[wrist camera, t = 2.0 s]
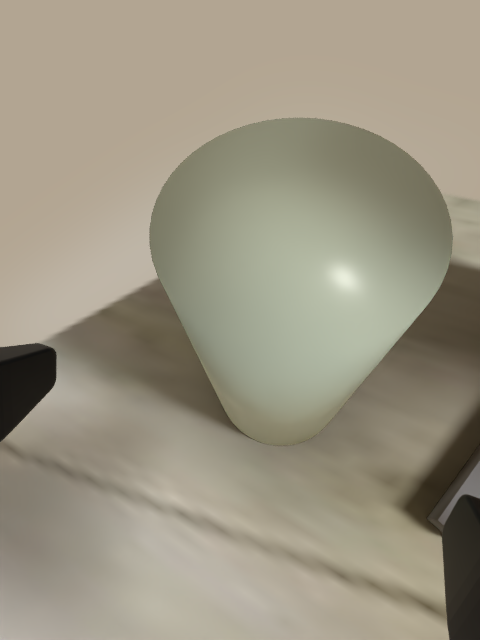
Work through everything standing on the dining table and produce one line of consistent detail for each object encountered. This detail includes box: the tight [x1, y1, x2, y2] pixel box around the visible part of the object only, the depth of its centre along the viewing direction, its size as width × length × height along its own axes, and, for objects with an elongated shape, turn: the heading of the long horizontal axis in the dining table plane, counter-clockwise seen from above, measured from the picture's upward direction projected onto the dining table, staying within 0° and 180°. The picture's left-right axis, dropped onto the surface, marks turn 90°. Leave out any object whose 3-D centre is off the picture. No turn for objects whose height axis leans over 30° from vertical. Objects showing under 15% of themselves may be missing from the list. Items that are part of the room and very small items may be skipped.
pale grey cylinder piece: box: [150, 118, 453, 446], centre depth 14 cm, size 6×6×13 cm
